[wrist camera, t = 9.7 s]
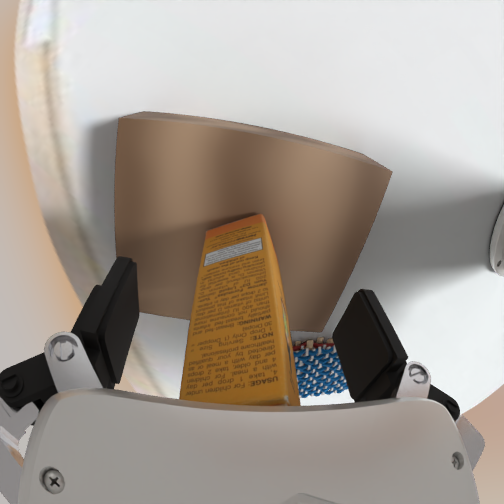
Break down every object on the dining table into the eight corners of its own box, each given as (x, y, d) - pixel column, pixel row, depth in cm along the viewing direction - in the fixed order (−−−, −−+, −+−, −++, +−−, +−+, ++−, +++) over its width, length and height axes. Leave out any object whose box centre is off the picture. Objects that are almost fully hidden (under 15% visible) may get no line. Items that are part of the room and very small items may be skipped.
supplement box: (198, 229, 14) (166, 417, 6) (262, 210, 14) (303, 397, 6) (220, 278, 16) (217, 453, 8) (278, 262, 16) (317, 437, 7)
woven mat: (266, 336, 26) (268, 353, 24) (368, 327, 26) (375, 342, 25) (261, 390, 31) (263, 404, 30) (343, 381, 32) (347, 394, 30)
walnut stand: (362, 154, 17) (392, 171, 13) (310, 296, 23) (321, 332, 19) (143, 111, 14) (118, 118, 11) (136, 273, 20) (121, 308, 17)
